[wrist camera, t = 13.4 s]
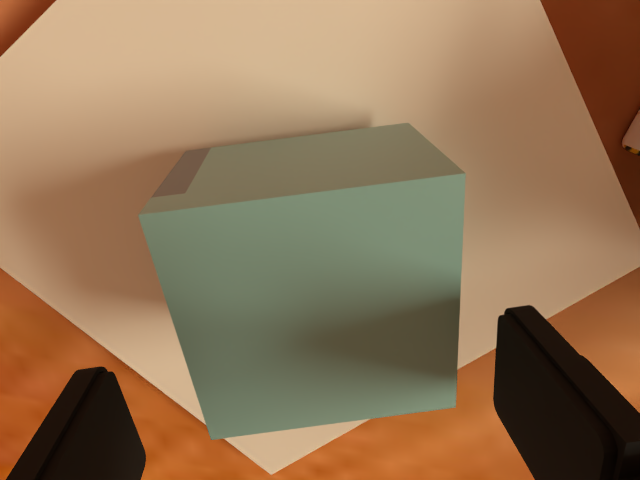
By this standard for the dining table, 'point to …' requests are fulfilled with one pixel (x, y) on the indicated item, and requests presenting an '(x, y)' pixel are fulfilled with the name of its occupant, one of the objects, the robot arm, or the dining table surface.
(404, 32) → the post block
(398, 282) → the sage green cube
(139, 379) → the dining table surface
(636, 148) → the medicine bottle
